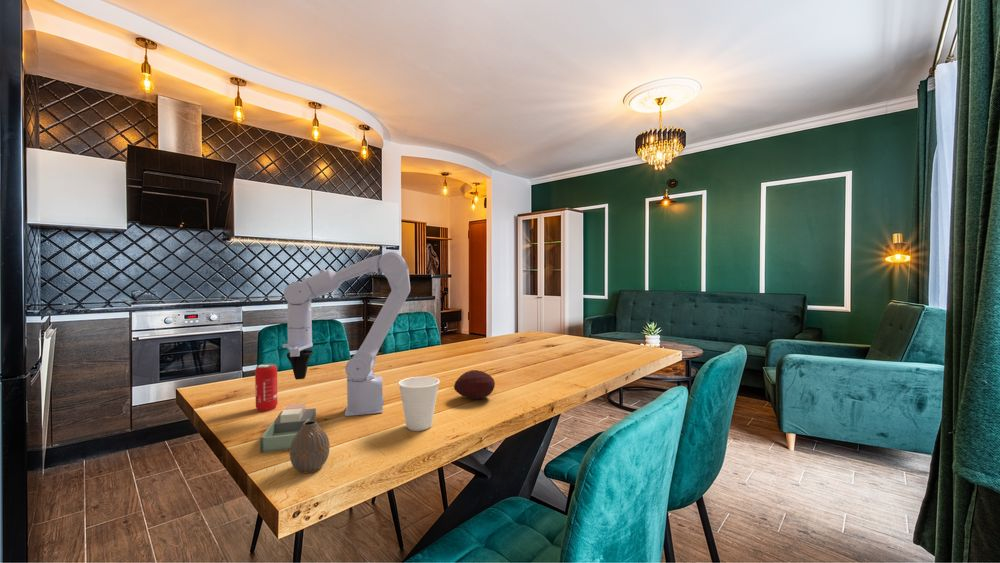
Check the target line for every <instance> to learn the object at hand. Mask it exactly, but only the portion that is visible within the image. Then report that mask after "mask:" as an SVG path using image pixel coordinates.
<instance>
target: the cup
mask: <svg viewBox="0 0 1000 563" xmlns="http://www.w3.org/2000/svg"><path fill="white" fill-rule="evenodd" d="M397 384H398V386H399V391H400V397H401V402H402V407H403V409H402V410H403V413H404V420H405V426H406V428H407V429H408V430H409V431H415V432H420V431H426V430H429V429H430V428H431V427H432V426H433V420H434V416H435V414H434V413H435V407H436V402H437V395H438V390H439V384H440V379H439V378H437V377H433V376H413V377H407V378H403V379H401V380H399V381H398V383H397Z"/></svg>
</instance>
